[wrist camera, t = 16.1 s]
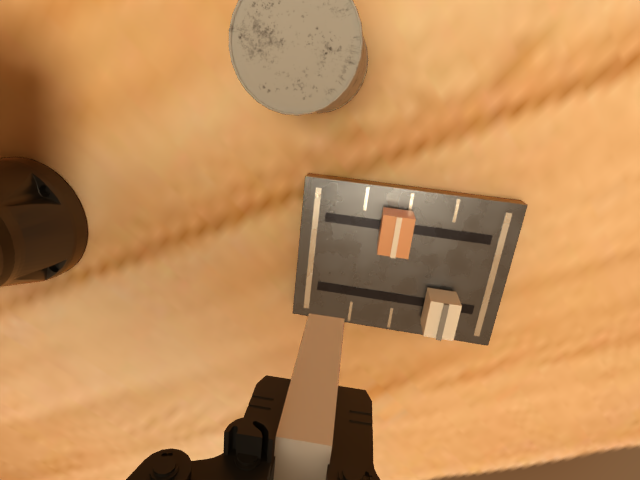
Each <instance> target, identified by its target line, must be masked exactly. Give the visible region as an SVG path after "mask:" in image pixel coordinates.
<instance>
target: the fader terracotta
mask: <svg viewBox="0 0 640 480" xmlns="http://www.w3.org/2000/svg"><path fill="white" fill-rule="evenodd" d="M415 221H416V219H415V215H414V212H413V211H409V210H402V209H394V208H387V207H383V211H382V218H381V224H380V230H379V236H378V243H377V255H383V256H389V257H390V258H395V257H396V258H403V259H408V258H409V253H410V247H411V242H412V237H413V231H414V226H415Z"/></svg>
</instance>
